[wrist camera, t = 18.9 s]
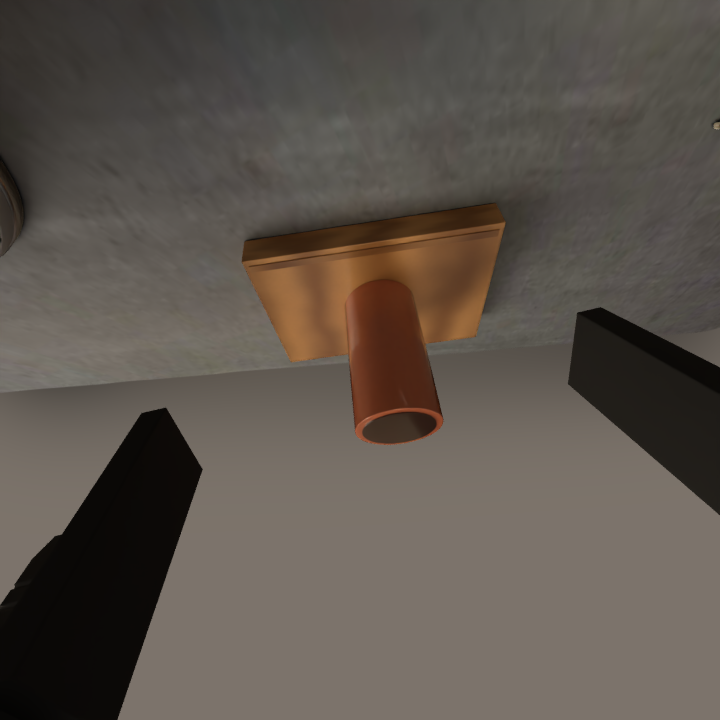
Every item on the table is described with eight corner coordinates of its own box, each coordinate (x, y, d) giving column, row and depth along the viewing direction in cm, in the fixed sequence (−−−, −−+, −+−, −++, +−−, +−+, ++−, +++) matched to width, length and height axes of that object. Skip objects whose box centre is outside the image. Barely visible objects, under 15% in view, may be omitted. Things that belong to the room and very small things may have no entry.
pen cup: (349, 332, 35) (360, 450, 29) (339, 285, 30) (349, 416, 23) (413, 323, 35) (440, 440, 28) (415, 274, 30) (447, 404, 23)
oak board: (291, 343, 40) (290, 363, 39) (244, 240, 29) (241, 262, 27) (469, 319, 39) (476, 337, 38) (496, 202, 28) (506, 223, 26)
